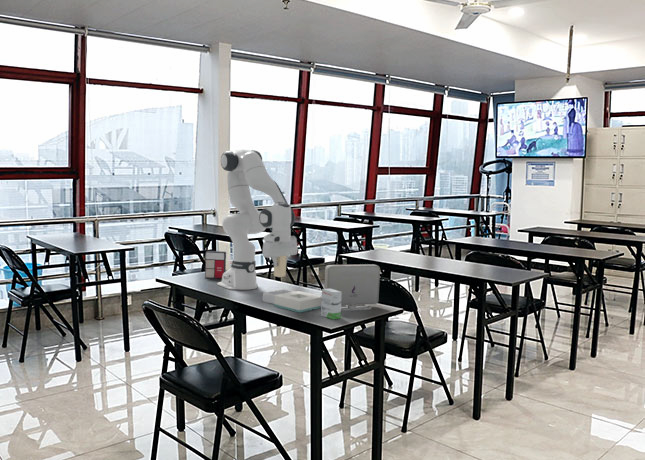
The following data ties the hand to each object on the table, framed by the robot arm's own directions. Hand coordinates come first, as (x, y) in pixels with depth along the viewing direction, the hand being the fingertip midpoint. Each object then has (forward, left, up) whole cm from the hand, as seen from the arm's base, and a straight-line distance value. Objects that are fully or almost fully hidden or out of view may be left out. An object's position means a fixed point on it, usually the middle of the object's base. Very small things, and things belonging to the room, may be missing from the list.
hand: (280, 265), depth 283 cm
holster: (0, 0, -17) cm, 17 cm away
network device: (+32, +15, -17) cm, 39 cm away
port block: (+15, -2, -17) cm, 23 cm away
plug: (0, 0, -5) cm, 5 cm away
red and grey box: (-64, +12, -17) cm, 67 cm away
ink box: (+37, -5, -17) cm, 41 cm away
